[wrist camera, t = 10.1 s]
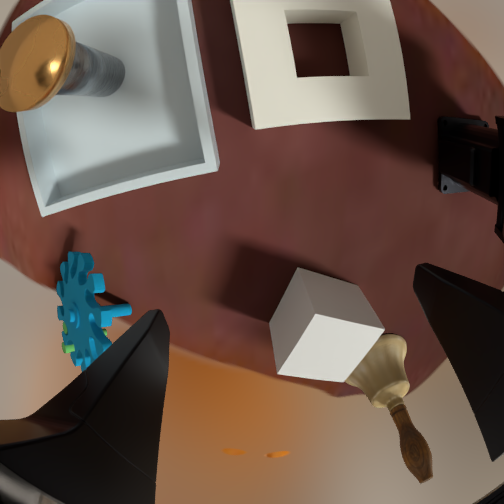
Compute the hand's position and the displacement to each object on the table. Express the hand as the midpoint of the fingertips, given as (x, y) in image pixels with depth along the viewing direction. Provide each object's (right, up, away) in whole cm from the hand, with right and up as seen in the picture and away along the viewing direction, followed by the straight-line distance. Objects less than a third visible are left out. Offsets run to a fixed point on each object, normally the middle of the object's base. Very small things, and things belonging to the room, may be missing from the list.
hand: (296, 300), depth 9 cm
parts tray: (-11, +13, +6) cm, 19 cm away
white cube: (+4, -3, +16) cm, 16 cm away
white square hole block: (+3, +15, +6) cm, 16 cm away
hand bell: (+12, -11, +20) cm, 26 cm away
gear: (-15, -2, +14) cm, 21 cm away
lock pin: (-11, +13, +5) cm, 18 cm away
